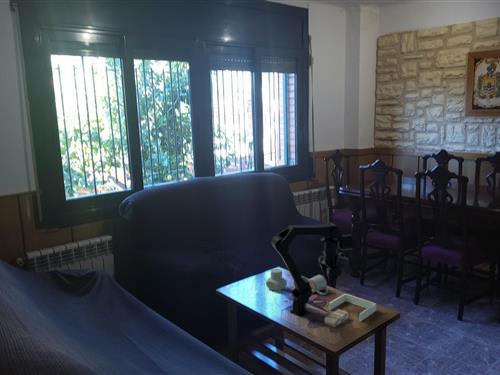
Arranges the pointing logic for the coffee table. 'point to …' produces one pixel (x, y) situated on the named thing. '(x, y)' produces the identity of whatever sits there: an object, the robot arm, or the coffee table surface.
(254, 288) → the coffee table surface
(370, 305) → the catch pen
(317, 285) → the ceramic mug
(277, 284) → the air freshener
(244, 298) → the coffee table surface
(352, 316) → the coffee table surface
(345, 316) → the tile
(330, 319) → the tile
